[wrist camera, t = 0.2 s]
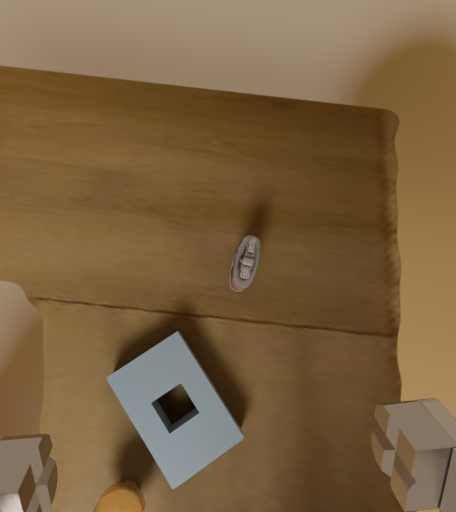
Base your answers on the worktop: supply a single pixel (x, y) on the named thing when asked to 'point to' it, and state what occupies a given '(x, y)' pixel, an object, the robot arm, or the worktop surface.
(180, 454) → the blue-grey slotted block
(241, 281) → the lighter
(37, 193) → the worktop surface
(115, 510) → the orange domed piece
